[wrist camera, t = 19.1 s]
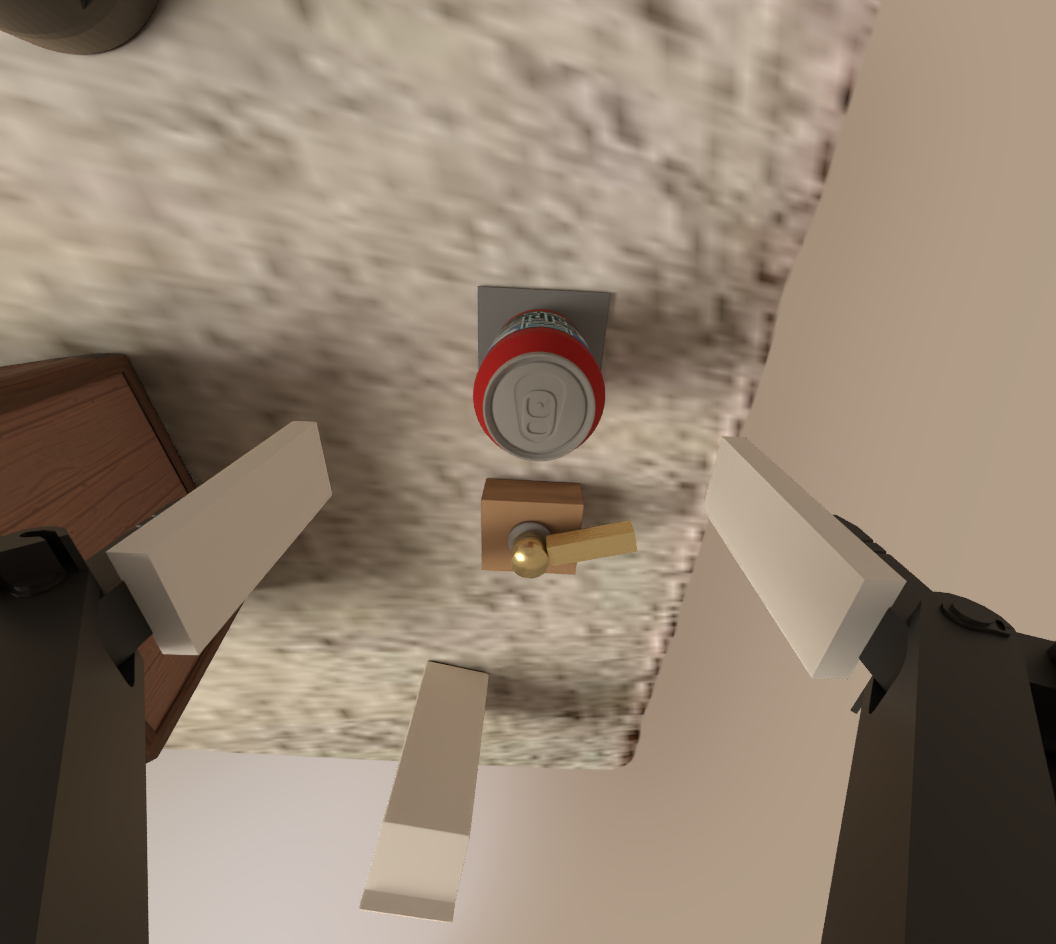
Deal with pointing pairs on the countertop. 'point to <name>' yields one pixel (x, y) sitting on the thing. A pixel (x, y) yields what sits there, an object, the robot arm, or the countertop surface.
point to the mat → (574, 305)
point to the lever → (570, 547)
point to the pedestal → (526, 517)
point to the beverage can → (539, 387)
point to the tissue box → (96, 485)
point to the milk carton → (430, 800)
